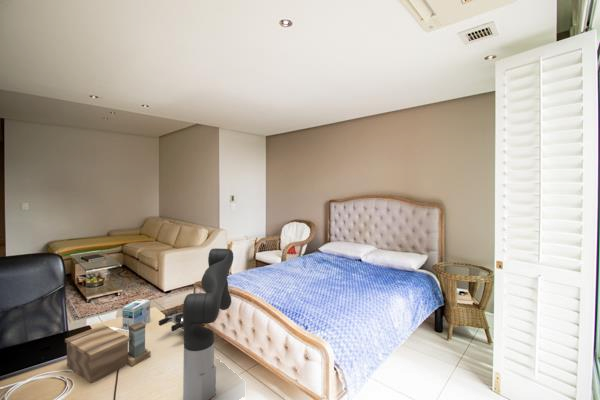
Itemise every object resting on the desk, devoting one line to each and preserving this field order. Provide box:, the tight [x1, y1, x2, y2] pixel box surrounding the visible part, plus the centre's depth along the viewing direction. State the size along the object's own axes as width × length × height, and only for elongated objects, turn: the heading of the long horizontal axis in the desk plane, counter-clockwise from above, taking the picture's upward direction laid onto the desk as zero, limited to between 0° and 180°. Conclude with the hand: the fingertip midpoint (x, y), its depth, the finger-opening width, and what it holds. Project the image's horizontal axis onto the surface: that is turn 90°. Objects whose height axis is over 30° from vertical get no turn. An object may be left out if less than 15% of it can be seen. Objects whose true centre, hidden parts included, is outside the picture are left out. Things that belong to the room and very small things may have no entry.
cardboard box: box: [64, 324, 152, 384], centre depth 106 cm, size 21×20×10 cm
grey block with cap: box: [128, 322, 146, 358], centre depth 108 cm, size 4×4×13 cm
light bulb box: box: [121, 298, 151, 330], centre depth 134 cm, size 11×7×11 cm, turn 168°
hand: (165, 326), depth 119 cm, fingers open, 8 cm apart
